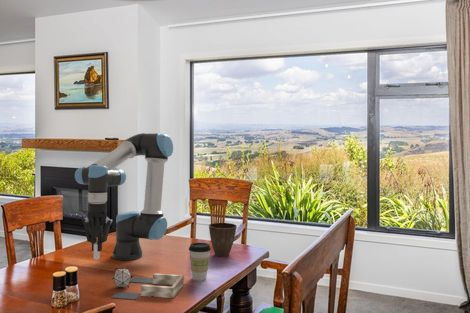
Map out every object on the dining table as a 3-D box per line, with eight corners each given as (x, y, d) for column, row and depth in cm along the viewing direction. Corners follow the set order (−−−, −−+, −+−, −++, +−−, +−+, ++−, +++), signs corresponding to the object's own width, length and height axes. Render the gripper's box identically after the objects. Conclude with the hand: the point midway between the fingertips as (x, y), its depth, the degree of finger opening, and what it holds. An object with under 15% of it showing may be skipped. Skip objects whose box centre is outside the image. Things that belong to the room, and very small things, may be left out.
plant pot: (216, 249, 235) (216, 221, 234) (240, 253, 229) (241, 224, 228) (203, 256, 221) (203, 226, 221) (228, 260, 215) (229, 229, 214)
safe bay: (141, 295, 165) (141, 285, 165) (153, 282, 180) (153, 273, 180) (173, 298, 163) (173, 288, 163) (183, 284, 178) (183, 275, 178)
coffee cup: (201, 283, 180) (202, 249, 179) (183, 279, 185) (184, 245, 185) (214, 277, 188) (215, 244, 188) (197, 273, 194) (197, 241, 193)
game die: (124, 297, 172) (125, 283, 166) (106, 288, 174) (107, 274, 168) (136, 281, 179) (137, 267, 173) (119, 272, 181) (120, 258, 175)
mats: (111, 298, 162) (111, 297, 162) (134, 277, 186) (134, 277, 186) (135, 299, 161) (135, 299, 161) (155, 279, 184) (155, 278, 184)
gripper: (78, 203, 171) (77, 260, 171) (108, 204, 169) (107, 262, 170) (87, 200, 178) (86, 255, 179) (116, 201, 177) (115, 257, 177)
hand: (96, 258), depth 174 cm, fingers closed
